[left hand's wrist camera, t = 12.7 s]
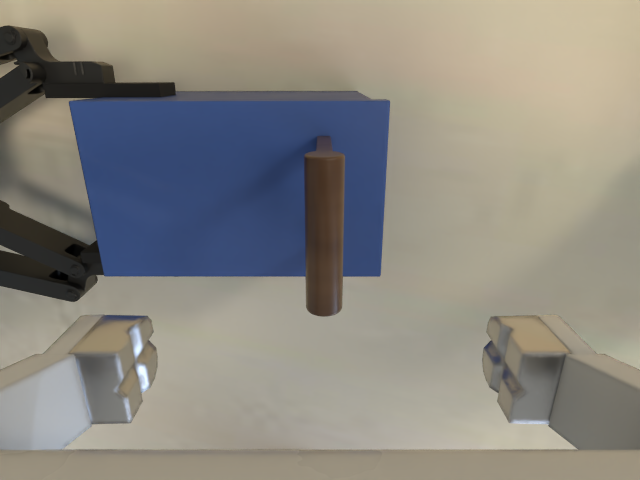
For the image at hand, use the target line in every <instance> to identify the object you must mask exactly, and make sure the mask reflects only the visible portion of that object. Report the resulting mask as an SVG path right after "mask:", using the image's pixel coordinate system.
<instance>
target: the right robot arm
mask: <svg viewBox="0 0 640 480" xmlns="http://www.w3.org/2000/svg"><path fill="white" fill-rule="evenodd" d="M47 47H48V41H47V38H46V36H45V35H44V34H43V33H42V32H41V31H38V30H34V29H27V28H21V27H14V26H3V27H0V65H1V64H4V63H8V62H11V61H14V60H17V62H14V64H15V65H19V66H18V67H16V68H15V69H13V70H12V71H10V72H9V73H7V74H6V75H5V76H3V77H2V78H0V123H1V122H3V121H4V120H6V119H7V118H9V117H10V116H12V115H13V114H15V113H16V112H18V111H19V110H21V109H22V108H24V107H25V106H27V105H28V104H30V103H31V102H33V101H35V100H36V99H38V98H39V97H41V96H42V95H44V94H45V96H46V98H102V97H166V96H172V95H176V91H175V83H115V78H114V72H113V66H112V65H109V64H107V63H104V62H60V61H58V60H56V59H55V58H54V57H53V56H52V55H51V53H50V52H49V50H48V48H47ZM0 245H2V246H4V247H6V248H8V249H11V250H13V251H15V252H17V253H20V254H22V255H18V254H14V253H10V252H5V251H1V250H0V286H3V287H8V288H12V289H17V290H21V291H26V292H30V293H35V294H39V295H44V296H48V297H53V298H57V299H62V300H66V301H71V302H75V301H77V300H79V299H80V298H81V297H82V296H83V295H84V294H85V293H86V292H87V291H88V290H90V289H91V288H92V287H93V286H94V285H95V284H96V283H97V280H98V279H97V276H96V275H104V272H103V267H102V262H101V257H100V252H99V247H98V242H97V241H95V242H94V243H93V244H91V245H87V244H85V243H83V242H81V241H79V240H77V239H74V238H72V237H70V236H68V235H66V234H63V233H61V232H59V231H57V230H55V229H52V228H50V227H48V226H46V225H44V224H42V223H39V222H37V221H35V220H33V219H31V218H28V217H26V216H24V215H22V214H20V213H17V212H15V211H13V210H11V209H10V208H9V205H8V204H7V203H5V202H3V201H1V200H0ZM23 255H24V256H23Z"/></svg>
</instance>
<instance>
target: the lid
mask: <svg viewBox="0 0 640 480" xmlns="http://www.w3.org/2000/svg"><path fill="white" fill-rule="evenodd" d="M69 106H70V110H71V115H72V120H73V125H74V130H75V135H76V140H77V145H78V150H79V154H80V159H81V164H82V169H83V174H84V179H85V184H86V189H87V194H88V198H89V203H90V208H91V213H92V218H93V223H94V228H95V233H96V238H97V242H98V247H99V252H100V257H101V262H102V267H103V272H104V276H306V308H307V310H308V311H309V312H310V313H311V314H314V315H317V316H332V315H335V314H337V313H339V312H340V310H341V309H342V287H343V276H380V275H381V258H382V239H383V221H384V203H385V184H386V166H387V148H388V130H389V111H390V101H389V100H75V101H69Z"/></svg>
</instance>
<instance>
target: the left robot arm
mask: <svg viewBox="0 0 640 480" xmlns="http://www.w3.org/2000/svg"><path fill="white" fill-rule="evenodd" d="M152 334H153V327H152V322H151V319H150V318H149V317H148V316H125V315H85V316H81V317H80V318H79V319H78V320H77V321H76V322H75V323H74V324H73V325H72V326H71V327H70V328H69V329H68V330H67V331H66V332H65V333H64V334H63V335H62V336H61V337H59V338H58V339H57V340H56V341H55V342H54V343H53V344H52V345H51V346H50V347H49V348H48V349H47V350H46V351H45V352H44V353H43V354H35V355H33V356H31V357H28V358H26V359H24V360H21V361H19V362H17V363H15V364H12V365H10V366H8V367H6V368H3V369H1V370H0V480H640V370H639V369H637V368H634V367H632V366H630V365H628V364H625V363H623V362H621V361H618V360H616V359H614V358H612V357H609V356H607V355H605V354H597V353H596V352H595V351H594V350H593V349H592V348H591V347H590V346H589V345H588V344H587V343H586V342H585V341H584V340H583V339H582V338H581V337H580V336H579V335H578V334H577V333H576V332H575V331H574V330H573V329H572V328H571V327H570V326H569V325H568V324H567V323H566V322H565V321H564V320H563V319H562V318H561V317H559V316H557V315H531V316H494V317H491V318H490V320H489V322H488V326H487V334H488V335H489V337H490V338H491V341H490V342H489V343H488V344H487V345H486V346H485V347H484V350H483V358H482V362H483V372H484V375H485V379H486V381H487V383H488V385H489V387H490V388H491V389H493V390H494V391H496V392H497V393H499V394H498V400H497V402H498V403H499V405H500V407H501V409H502V411H503V413H504V414H505V416H506V418H507V420H508V422H509V423H526V424H549V425H548V426H549V427H550V428H552V429H553V430H554V431H555V432H557V433H558V434H559V435H561V436H562V437H563V438H564V439H566V440H567V441H568V442H570V443H571V444H572V445H573V446H575V447H576V448H577V449H578V450H62V449H63V448H64V447H66V446H67V445H68V444H69V443H71V442H72V441H73V440H74V439H76V438H77V437H78V436H80V435H81V434H82V433H83V432H85V431H86V430H87V429H89V428H90V427H91V426H92V425H91V424H113V423H131V422H132V420H133V418H134V416H135V414H136V413H137V411H138V409H139V407H140V405H141V403H142V402H143V400H142V394H141V393H143V392H144V391H146V390H147V389H149V388H150V387H151V385H152V383H153V381H154V379H155V375H156V371H157V350H156V347H155V346H154V345H153V344H152V343H151V342H150V341H149V338H150V337H151V335H152Z"/></svg>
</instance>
